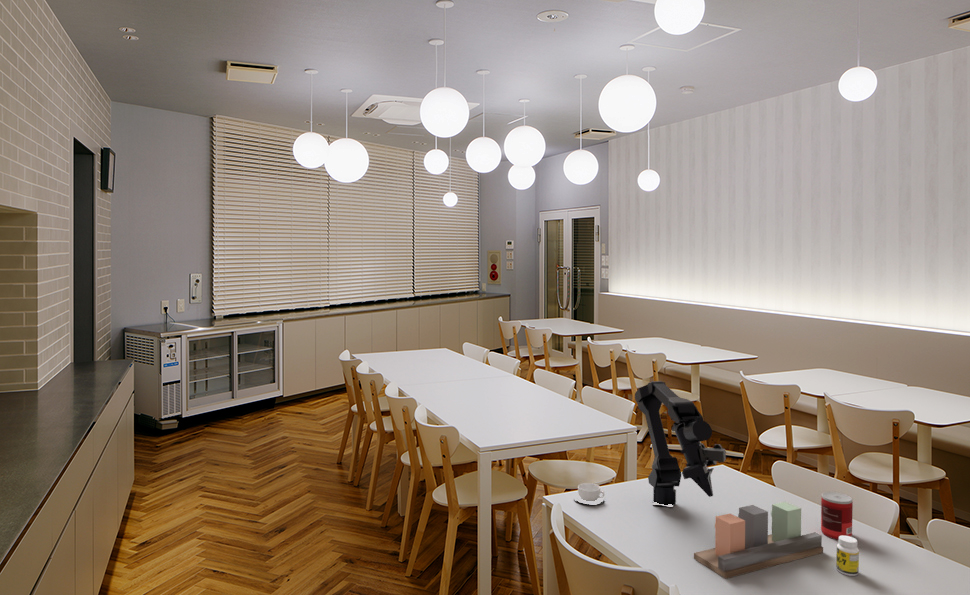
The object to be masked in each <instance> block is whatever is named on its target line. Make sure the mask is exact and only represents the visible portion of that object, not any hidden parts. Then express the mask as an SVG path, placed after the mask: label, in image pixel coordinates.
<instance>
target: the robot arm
mask: <svg viewBox="0 0 970 595" xmlns="http://www.w3.org/2000/svg"><path fill="white" fill-rule="evenodd" d="M634 400H635V403H636V404H637V407H638V410H640V412H641V413H642V414H643V415H644V416H645V420H646V424H647V429H648V434H649V436H650V441H651V446H652V450H653V455H654V458H653V461H652V465H651V469H652V470H651V472H650V473H649V475H647V476H648V477H647V478H648V484H649V485H650V486H652V487H653V488H652V489H653V493H652V494H653V497H652V498H653V501H654V502H657V503H659V504H664V505H668V504H672V505H673V504H675V505H676V503H677V489H675V487H680V484H681V479H682V476H683V479H684V480H688V479H691V480H692V481H693V482H694V483H695V484H696V485H697V486H698V487H699V488H700V489H702V491H703V493H705V494H706V495H707V496H708V497H709V498H710V497H713V496H714V493H713V492H714V491H713V486H712V485H713V484H712V478H711V475H712V473H713V471H714V467H711V468H709V466H716V465H717V462H718V463H724V462H725V461H726V459H727V455H726V454H727V451H726V449H725V448H723V446H722V444H719V443H715V444H714V445H713V447H706V445H705V444H704V443H703V442H705V441H708V440H709V439H710V438H711V437H712V435H713V429H712V427H711V426H710V424H709V422H707V421H706V420H704V417H703V415H702V413H700V411H699V409H698V408H697V406H696V405H695V403H694V402H693V401H691V400H689V399H687V398H683V397H680V396H679V395H677V394H676V393H675V392H674V391H673V390H672V389H671V388H669V387H668V386H667V385H666V382H664V381H662V380H654V381H649V382H648V383H647V384H645V385H644V386H641V387H639V388H638V389H637V390H636V392H634ZM662 404H663V405H664V406H665V407H666V408H667V414H668V416H669V417H670V419H671V420H672V421H674V422H673V425H672V427H671V431H672V432H674V433H675V436H676V438H677V441H678V443H679V445H680V448H681V449H680V452H681V453H680V454H683V456H684V458H685V461H686V463H685V465H686V467H684V468H683V469H682V470H681V468H680V465H679V462H678V458H677V457H676V456H672V454H670V450H669V446H668V441H667V437H666V434H665V429H664V427H663V422H662V418H661V414H660V410H661V407H662ZM653 501H652V502H653Z"/></svg>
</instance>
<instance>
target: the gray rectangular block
mask: <svg viewBox="0 0 970 595" xmlns="http://www.w3.org/2000/svg"><path fill="white" fill-rule="evenodd" d="M737 517H739V518H741V519H743V520H745V548H747V549H749V548H753V547H757V546H761V545H765V544H768V535H769V511H767V510H765V509H762V508H760V507H759V506H756V505H755V504H749V505H746V506H742V507H739V508H738V514H737Z"/></svg>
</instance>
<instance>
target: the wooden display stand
mask: <svg viewBox="0 0 970 595" xmlns="http://www.w3.org/2000/svg"><path fill="white" fill-rule="evenodd" d="M822 537H823V536H822V534H820V533H818V532H809V533H805V534H801V536H798V537H794V538H789V539H785V540H781V541H777V542H774V541H772V533H771V534H768V544H765V545H761V546H757V547H753V548H749V549H747V548H745V550H741V551H737V552H733V553H729V554H725V555H721V556H718V555H716V554H715V547H714V548H709V549H705V550H699V551H696V552H693V559H694V560H695V559H696V560H695V561H697V562H698V563H700V564H702V565H703V566H704V567H706V568H708V569H710V570H711V571H713V572H714V573H716V574H718V575H719V576H721V577H722V578H724V579H725V580H726V579H729V578H733V577H737V576H741V575H744V574H748V573H752V572H755V571H759V570H763V569H767V568H772V567H774V566H778V565H781V564H784V563H785V564H786V563H789V562H794V561H796V560H800V559H803V558H808V557H811V556H816V555H819V554H822V553H824V547H823V545H822V542H823V541H822Z"/></svg>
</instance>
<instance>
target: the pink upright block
mask: <svg viewBox="0 0 970 595" xmlns="http://www.w3.org/2000/svg"><path fill="white" fill-rule="evenodd" d="M714 529H715V532H714V533H715V534H714V535H715V536H714V537H715V541H714V543H715V544H714V546H715V547H714V548H715V554H716V555H718V556H721V555H725V554H729V553H733V552H737V551H741V550H745V520H743V519H741V518H739V517H738V516H736V515H734V514H732V513H727V514H726V513H725V514H721V515H716V516H715V521H714Z"/></svg>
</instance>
